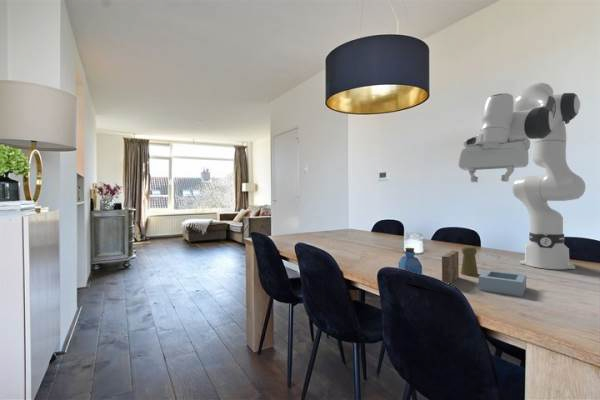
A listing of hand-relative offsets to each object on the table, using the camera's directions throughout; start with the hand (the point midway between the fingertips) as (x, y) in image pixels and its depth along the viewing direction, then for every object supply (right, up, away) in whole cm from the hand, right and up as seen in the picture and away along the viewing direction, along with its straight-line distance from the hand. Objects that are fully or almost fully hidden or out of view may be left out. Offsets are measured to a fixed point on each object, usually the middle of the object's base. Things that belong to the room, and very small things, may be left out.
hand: (488, 181), depth 105 cm
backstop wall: (-6, -36, +13) cm, 39 cm away
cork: (+6, -36, +23) cm, 43 cm away
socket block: (+6, -36, +3) cm, 36 cm away
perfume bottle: (-21, -36, +15) cm, 44 cm away
